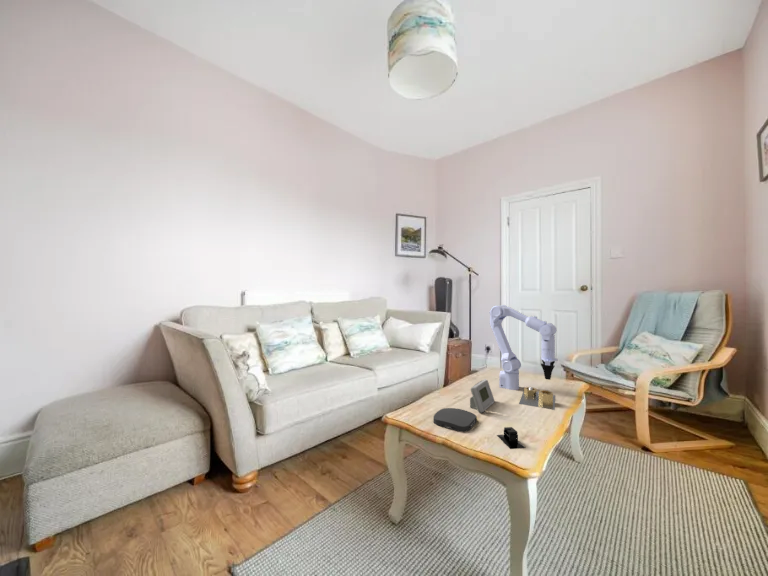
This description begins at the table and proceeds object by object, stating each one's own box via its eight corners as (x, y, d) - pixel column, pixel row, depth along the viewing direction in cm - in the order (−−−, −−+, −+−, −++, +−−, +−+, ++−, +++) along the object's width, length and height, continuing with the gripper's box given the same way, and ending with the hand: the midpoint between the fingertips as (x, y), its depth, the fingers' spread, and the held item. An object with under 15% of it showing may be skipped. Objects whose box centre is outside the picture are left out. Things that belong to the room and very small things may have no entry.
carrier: (519, 405, 137) (519, 396, 137) (523, 392, 154) (523, 384, 154) (554, 411, 130) (554, 402, 130) (555, 397, 147) (555, 389, 147)
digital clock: (481, 415, 127) (481, 389, 127) (462, 408, 133) (462, 384, 134) (501, 405, 137) (501, 381, 137) (483, 399, 144) (483, 377, 144)
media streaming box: (445, 411, 131) (445, 404, 131) (479, 420, 122) (479, 413, 122) (429, 424, 119) (430, 416, 119) (466, 434, 110) (466, 426, 110)
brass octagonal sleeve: (538, 404, 136) (538, 393, 136) (539, 400, 141) (539, 389, 141) (552, 406, 133) (552, 395, 133) (552, 402, 138) (553, 391, 138)
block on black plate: (492, 434, 111) (492, 422, 111) (511, 433, 111) (511, 421, 111) (510, 453, 98) (510, 438, 98) (531, 451, 99) (531, 437, 99)
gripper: (557, 352, 138) (557, 382, 138) (557, 347, 151) (557, 374, 151) (540, 350, 142) (540, 380, 142) (541, 345, 154) (541, 372, 154)
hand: (548, 377), depth 146 cm, fingers open, 7 cm apart
